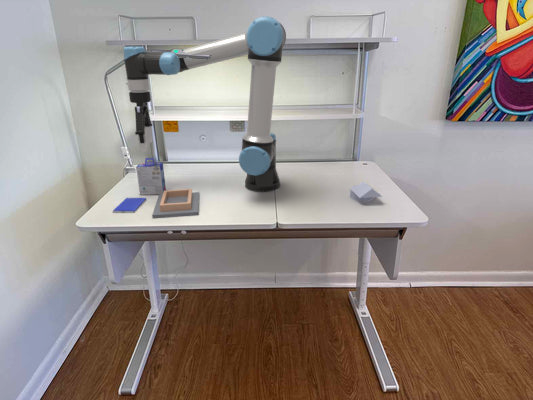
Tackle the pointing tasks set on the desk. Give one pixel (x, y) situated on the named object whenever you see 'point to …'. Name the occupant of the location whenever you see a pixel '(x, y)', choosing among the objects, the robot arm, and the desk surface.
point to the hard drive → (129, 205)
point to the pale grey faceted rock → (363, 192)
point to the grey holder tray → (176, 204)
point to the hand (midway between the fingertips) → (146, 146)
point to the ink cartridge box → (151, 178)
